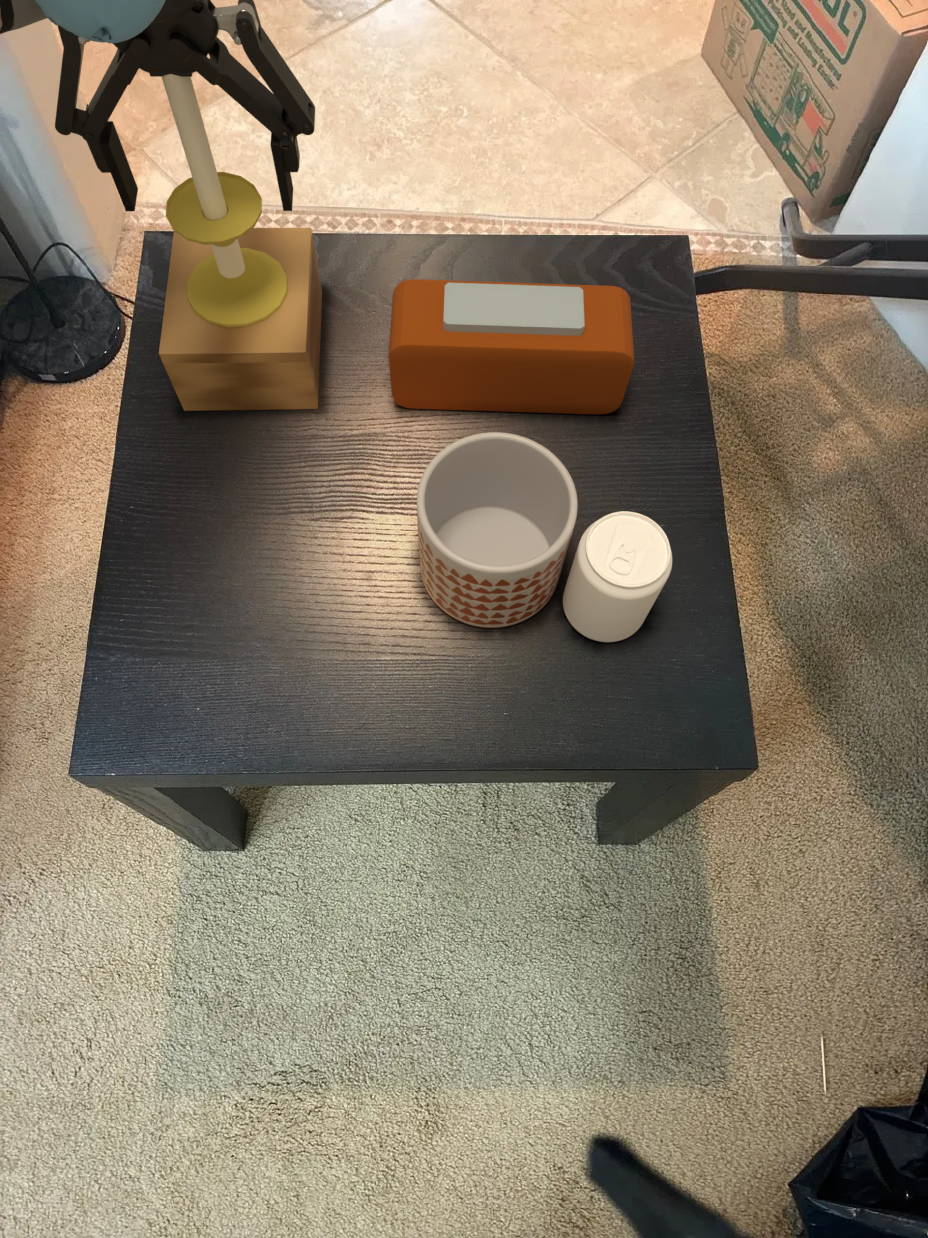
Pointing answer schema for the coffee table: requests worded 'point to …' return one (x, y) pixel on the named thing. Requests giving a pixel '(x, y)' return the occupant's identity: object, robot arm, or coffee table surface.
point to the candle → (219, 227)
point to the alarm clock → (510, 346)
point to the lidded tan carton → (246, 333)
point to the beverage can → (616, 576)
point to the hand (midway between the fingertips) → (210, 200)
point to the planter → (494, 528)
